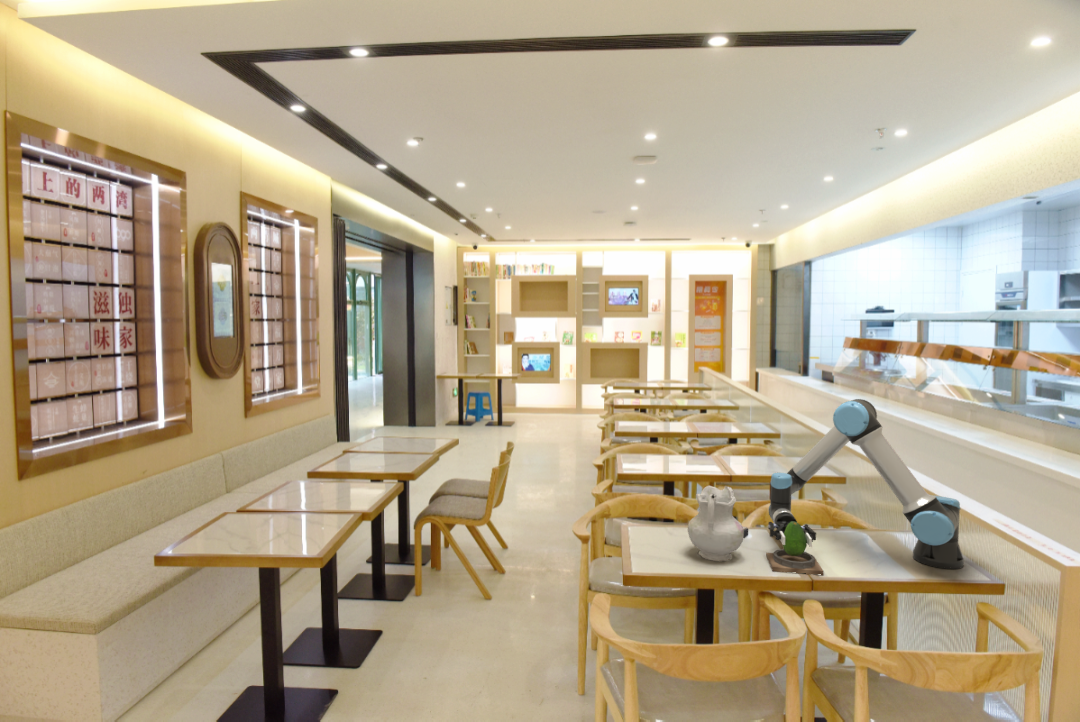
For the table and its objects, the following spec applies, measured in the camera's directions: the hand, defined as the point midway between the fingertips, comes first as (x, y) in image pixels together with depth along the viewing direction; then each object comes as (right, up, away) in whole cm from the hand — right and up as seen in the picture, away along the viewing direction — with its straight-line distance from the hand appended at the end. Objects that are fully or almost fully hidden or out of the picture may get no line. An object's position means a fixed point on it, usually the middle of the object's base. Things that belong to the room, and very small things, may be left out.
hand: (797, 541), depth 209 cm
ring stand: (+1, -10, +5) cm, 11 cm away
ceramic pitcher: (-24, -9, +13) cm, 29 cm away
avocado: (+1, -6, +5) cm, 8 cm away
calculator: (-13, -9, +35) cm, 38 cm away
